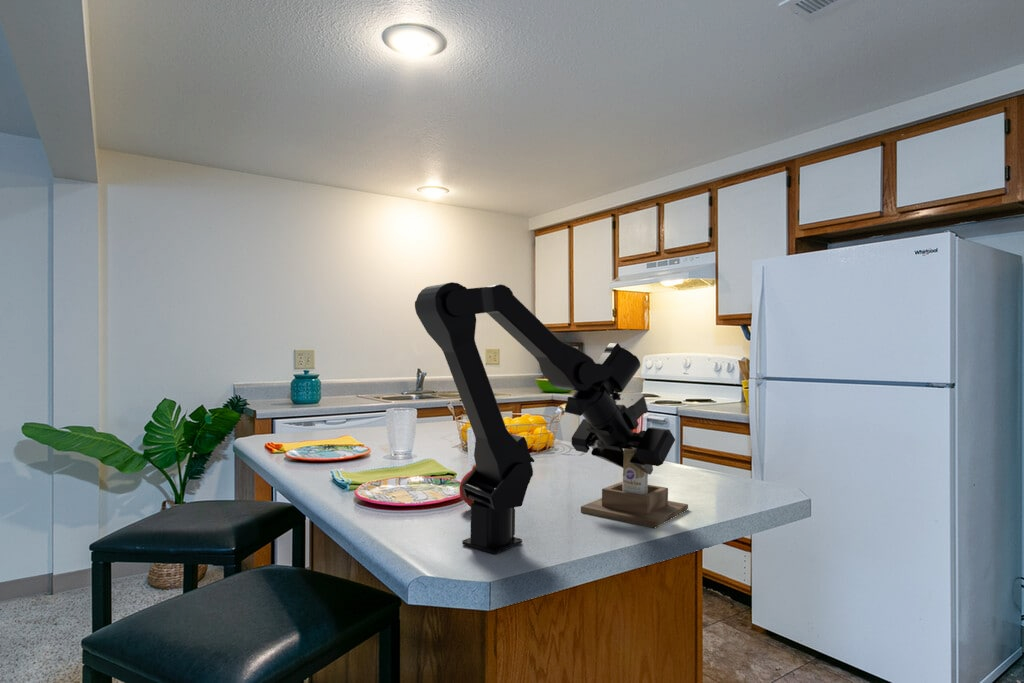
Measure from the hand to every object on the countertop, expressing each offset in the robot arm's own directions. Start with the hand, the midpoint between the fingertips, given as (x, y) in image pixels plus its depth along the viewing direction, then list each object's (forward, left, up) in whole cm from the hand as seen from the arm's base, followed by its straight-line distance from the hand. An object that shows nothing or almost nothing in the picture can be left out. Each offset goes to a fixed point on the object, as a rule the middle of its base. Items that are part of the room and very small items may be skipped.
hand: (640, 470), depth 106 cm
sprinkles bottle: (-1, 0, -7) cm, 7 cm away
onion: (-19, +22, -7) cm, 30 cm away
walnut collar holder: (-1, 0, -7) cm, 7 cm away
